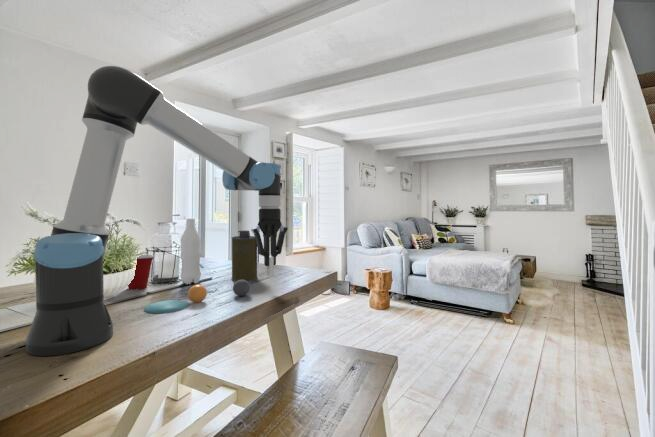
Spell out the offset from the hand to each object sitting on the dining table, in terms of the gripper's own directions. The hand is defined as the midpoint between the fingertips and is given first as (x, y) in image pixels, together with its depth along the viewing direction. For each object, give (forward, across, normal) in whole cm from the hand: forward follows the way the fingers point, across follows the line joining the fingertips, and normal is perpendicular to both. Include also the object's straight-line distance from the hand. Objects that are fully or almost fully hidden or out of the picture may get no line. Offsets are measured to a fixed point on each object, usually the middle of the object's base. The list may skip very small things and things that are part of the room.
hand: (270, 274), depth 113 cm
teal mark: (+6, +33, 0) cm, 33 cm away
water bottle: (+6, +22, -27) cm, 35 cm away
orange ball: (+3, +24, 0) cm, 25 cm away
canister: (+6, +1, -23) cm, 24 cm away
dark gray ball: (+3, +10, 0) cm, 11 cm away
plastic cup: (+6, +39, -29) cm, 49 cm away
